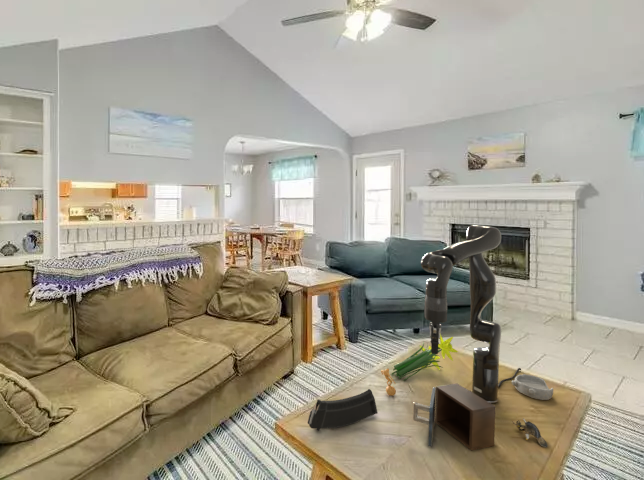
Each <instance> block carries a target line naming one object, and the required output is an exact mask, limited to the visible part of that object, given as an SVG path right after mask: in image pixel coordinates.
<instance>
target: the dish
mask: <svg viewBox="0 0 644 480" xmlns="http://www.w3.org/2000/svg"><path fill="white" fill-rule="evenodd" d="M510 382H511V385H512V386H513V387H514V388H515V389H516V391H518V392H519V393H521V394H523V395H525V396H527V397H529V398H532V399H535V400H541V401H548V400H550V399H552V398H553V396H554V387H551V388H549V386H548V384H547V382H546V381H545V379H544V378H541V377H539V376H535V375H531V374H525V373H523V374H518V375H516V377H515V378H514V380H513V379H511V381H510Z"/></svg>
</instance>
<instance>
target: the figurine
mask: <svg viewBox="0 0 644 480" xmlns="http://www.w3.org/2000/svg"><path fill="white" fill-rule="evenodd" d="M380 372H381V376H384V378H385V379H386V380H387V381H386V384H387V386H386V388H385V393H386V394H387V395H388V396H390V397H394V396H395V395H396V393H397V389H396V388H395V386H393V385H392V384H393V383H394V385H396V384H397V383H396V381H394V379H393V377H392V376H391V374H390V368H386V369H381V370H380Z"/></svg>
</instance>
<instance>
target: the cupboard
mask: <svg viewBox="0 0 644 480" xmlns="http://www.w3.org/2000/svg"><path fill="white" fill-rule="evenodd" d="M435 387H436V398H435V424H436V425H438V426H439V427H440V428H441V429H443V430H444V431H446V432H447V433H448V434H450V436H452V437H454V439H456V440H457V441H458V442H460V443H461V444H462V445H464V446H465V447H466V448H468V450H470V451H477V450H480V449H486V448H490V447H494V446H495V436H496V435H495V434H496V433H495V432H496V409H497V408H496V407H497V406H496V405H494V404H493V403H489V402H487V401H486V400H484V399H482V398H481V397H479V396H477V395H476V394H474V393H472V390H470V389H467V388H466V387H464V386H463V385H460V384H459V383H458V382H457V383H450V384H443V385H438V386H437V385H436V386H435Z"/></svg>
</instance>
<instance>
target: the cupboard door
mask: <svg viewBox="0 0 644 480" xmlns="http://www.w3.org/2000/svg"><path fill="white" fill-rule="evenodd" d="M431 389H432V390H431V396H430V402H429V405H426V404H422V403H419V402H417V401H416V402H415V401H414V402H412V403H413V406H412V407H413V408H412V412H413V413H412V420H413V421H415V422H418V423H420V424H424V425H428V441H427V442H428V443H427V444H428V447H431V448H432V445H433V439H434V431H435V425H436V423H435V405H436V386H432V388H431ZM418 410H421V411H425V412H427V413H428V418H427V417H424V416H421V415H418V412H419V411H418Z"/></svg>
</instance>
